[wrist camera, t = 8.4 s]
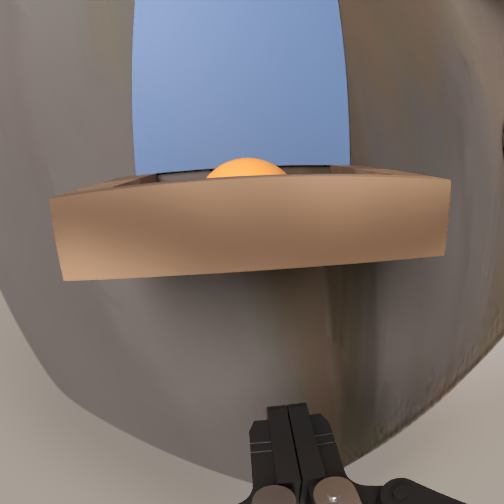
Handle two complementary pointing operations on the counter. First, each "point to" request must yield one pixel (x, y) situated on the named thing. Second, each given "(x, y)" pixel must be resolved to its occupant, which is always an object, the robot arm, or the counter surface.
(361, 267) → the counter surface
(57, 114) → the counter surface
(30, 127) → the counter surface
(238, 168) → the ball
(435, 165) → the counter surface
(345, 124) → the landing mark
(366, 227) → the bridge
